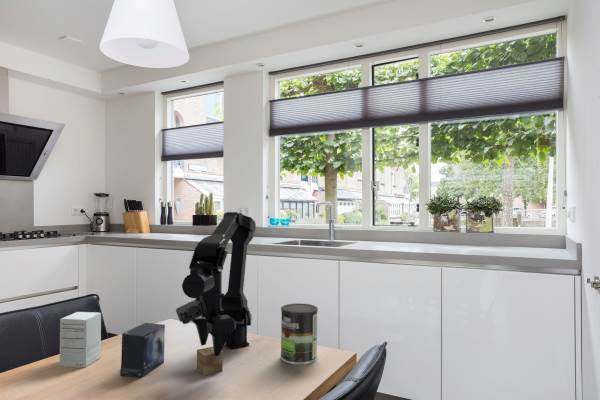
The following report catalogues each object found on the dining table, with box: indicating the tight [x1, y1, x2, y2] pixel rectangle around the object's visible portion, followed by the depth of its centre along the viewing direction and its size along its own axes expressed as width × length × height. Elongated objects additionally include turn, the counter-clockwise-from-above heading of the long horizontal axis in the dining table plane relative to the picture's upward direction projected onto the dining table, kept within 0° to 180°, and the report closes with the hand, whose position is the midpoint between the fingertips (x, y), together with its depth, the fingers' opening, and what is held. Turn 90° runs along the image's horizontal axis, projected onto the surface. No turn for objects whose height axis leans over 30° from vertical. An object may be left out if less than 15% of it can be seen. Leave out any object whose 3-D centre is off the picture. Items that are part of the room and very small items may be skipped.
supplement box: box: [59, 311, 102, 368], centre depth 110 cm, size 7×7×13 cm
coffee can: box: [280, 303, 319, 366], centre depth 114 cm, size 10×10×14 cm
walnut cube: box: [196, 346, 223, 376], centre depth 105 cm, size 5×5×5 cm
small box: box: [119, 322, 166, 378], centre depth 106 cm, size 11×6×10 cm, turn 168°
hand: (209, 350), depth 105 cm, fingers open, 9 cm apart
